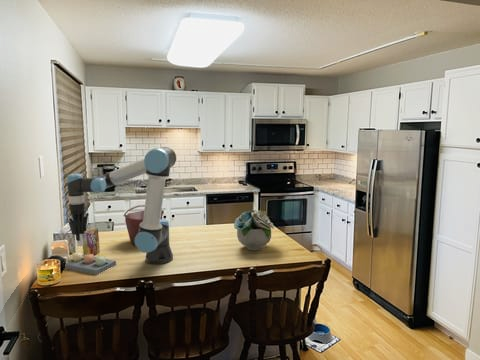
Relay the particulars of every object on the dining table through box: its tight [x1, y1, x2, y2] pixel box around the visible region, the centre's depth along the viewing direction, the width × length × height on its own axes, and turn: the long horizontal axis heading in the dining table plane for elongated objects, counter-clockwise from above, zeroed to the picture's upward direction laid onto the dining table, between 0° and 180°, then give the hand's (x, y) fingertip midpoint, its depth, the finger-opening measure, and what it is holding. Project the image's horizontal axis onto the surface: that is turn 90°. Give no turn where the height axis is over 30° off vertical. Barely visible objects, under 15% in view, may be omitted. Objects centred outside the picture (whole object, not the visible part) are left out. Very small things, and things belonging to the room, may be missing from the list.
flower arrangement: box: [233, 209, 275, 252], centre depth 217 cm, size 25×25×24 cm
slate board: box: [65, 254, 117, 276], centre depth 190 cm, size 24×14×2 cm, turn 68°
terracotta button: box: [84, 254, 95, 265], centre depth 190 cm, size 5×5×4 cm
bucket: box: [123, 204, 165, 247], centre depth 226 cm, size 24×22×25 cm
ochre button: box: [71, 251, 83, 263], centre depth 193 cm, size 5×5×4 cm
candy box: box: [82, 227, 101, 256], centre depth 206 cm, size 9×4×15 cm, turn 156°
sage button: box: [95, 255, 106, 267], centre depth 187 cm, size 5×5×4 cm
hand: (80, 245), depth 191 cm, fingers closed
